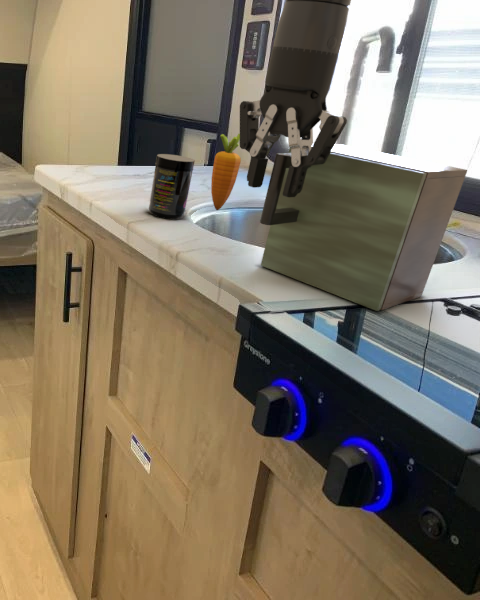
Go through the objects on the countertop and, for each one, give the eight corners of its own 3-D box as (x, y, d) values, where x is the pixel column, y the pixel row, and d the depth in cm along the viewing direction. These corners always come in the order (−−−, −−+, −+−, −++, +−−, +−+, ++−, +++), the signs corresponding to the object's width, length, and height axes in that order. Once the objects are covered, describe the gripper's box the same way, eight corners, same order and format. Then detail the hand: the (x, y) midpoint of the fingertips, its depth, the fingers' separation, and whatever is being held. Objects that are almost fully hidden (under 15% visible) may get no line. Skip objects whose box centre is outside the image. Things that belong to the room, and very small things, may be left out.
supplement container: (184, 222, 106) (196, 163, 102) (147, 216, 107) (156, 157, 103) (183, 213, 113) (193, 157, 109) (147, 208, 113) (157, 152, 109)
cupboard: (381, 310, 76) (428, 171, 69) (265, 265, 88) (295, 143, 81) (421, 296, 83) (467, 169, 76) (309, 256, 95) (340, 144, 89)
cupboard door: (349, 320, 71) (396, 174, 64) (231, 271, 83) (260, 144, 76) (380, 309, 75) (427, 173, 69) (264, 264, 88) (294, 144, 81)
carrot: (202, 209, 117) (218, 131, 112) (206, 205, 122) (222, 130, 116) (227, 214, 116) (244, 135, 110) (231, 210, 120) (248, 134, 115)
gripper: (380, 56, 67) (337, 204, 74) (273, 46, 77) (243, 178, 84) (347, 48, 63) (304, 207, 69) (237, 40, 73) (209, 179, 79)
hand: (271, 190), depth 76 cm, fingers open, 4 cm apart
